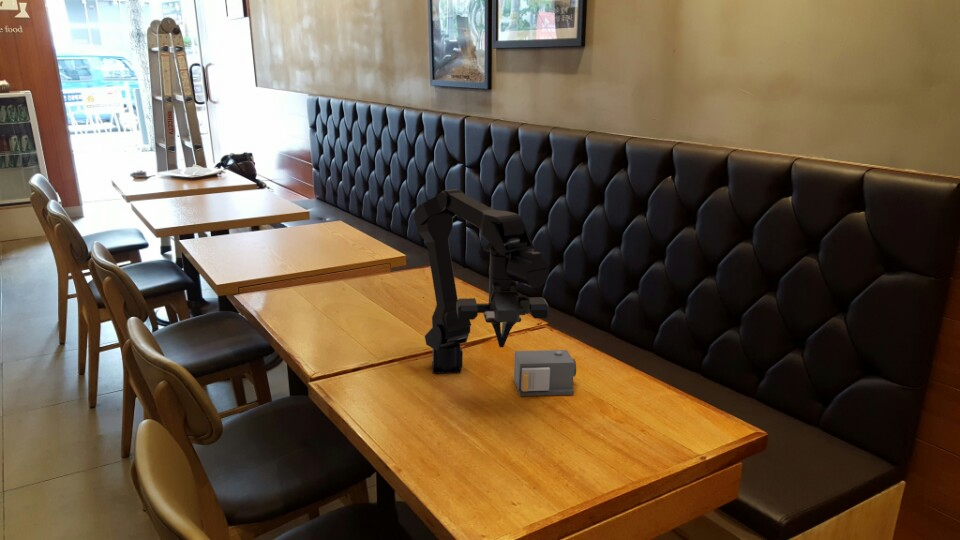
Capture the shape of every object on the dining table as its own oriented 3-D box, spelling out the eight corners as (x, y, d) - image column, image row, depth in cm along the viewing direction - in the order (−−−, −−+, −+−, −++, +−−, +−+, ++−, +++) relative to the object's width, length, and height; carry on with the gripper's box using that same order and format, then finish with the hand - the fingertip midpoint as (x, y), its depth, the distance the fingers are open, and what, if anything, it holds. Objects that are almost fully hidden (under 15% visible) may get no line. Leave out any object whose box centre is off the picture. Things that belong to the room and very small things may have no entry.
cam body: (519, 396, 146) (520, 363, 144) (513, 379, 154) (514, 348, 152) (579, 394, 148) (582, 362, 145) (571, 377, 156) (572, 347, 153)
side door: (522, 393, 145) (523, 372, 143) (520, 389, 147) (521, 368, 145) (550, 392, 145) (551, 371, 144) (548, 388, 147) (549, 367, 146)
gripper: (460, 288, 128) (459, 363, 133) (557, 287, 130) (552, 361, 135) (456, 271, 139) (455, 342, 143) (545, 270, 141) (542, 340, 145)
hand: (501, 346), depth 142 cm, fingers closed
